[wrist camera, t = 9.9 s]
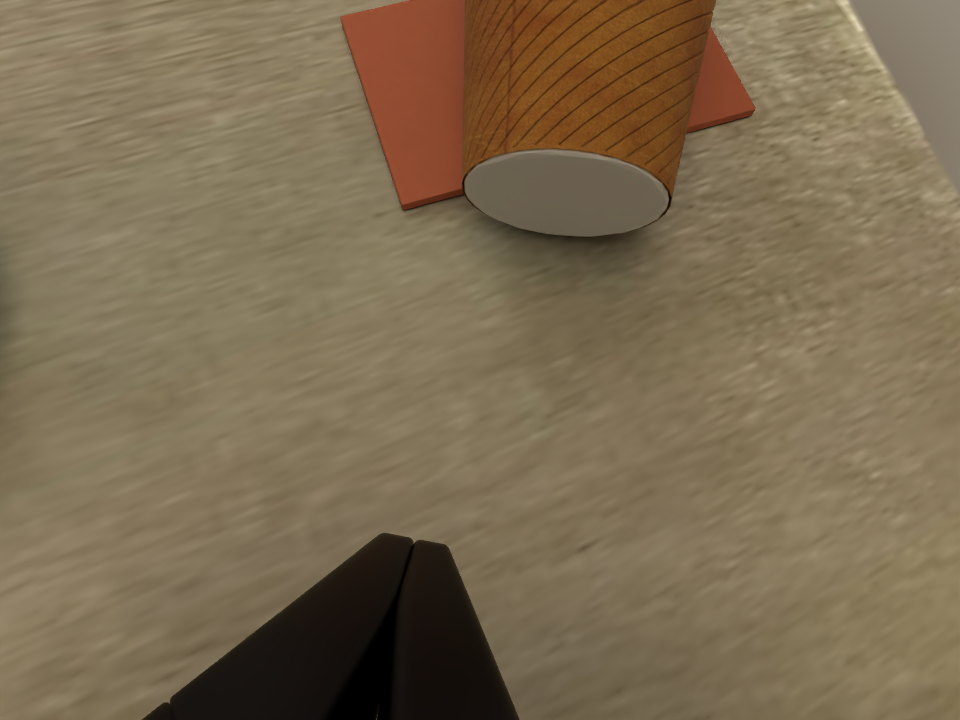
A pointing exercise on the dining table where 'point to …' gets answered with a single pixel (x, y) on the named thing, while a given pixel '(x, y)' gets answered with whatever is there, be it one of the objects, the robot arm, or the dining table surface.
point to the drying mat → (440, 91)
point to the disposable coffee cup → (578, 109)
